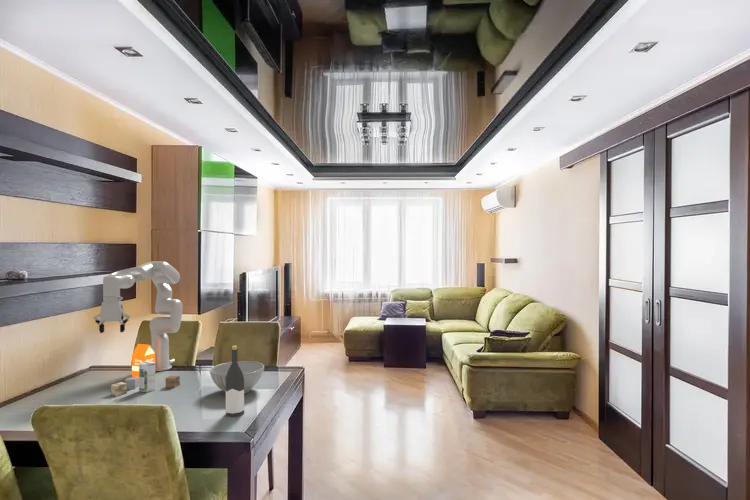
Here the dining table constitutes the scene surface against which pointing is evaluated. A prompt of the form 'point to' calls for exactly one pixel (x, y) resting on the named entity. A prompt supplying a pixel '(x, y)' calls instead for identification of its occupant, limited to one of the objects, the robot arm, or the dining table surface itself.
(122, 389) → the maple cube
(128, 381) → the slate painted cube
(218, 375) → the decorative bowl
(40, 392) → the dining table surface
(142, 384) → the syrup box
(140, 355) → the orange juice
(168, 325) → the robot arm
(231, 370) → the wine bottle
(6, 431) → the dining table surface
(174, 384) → the walnut cube
